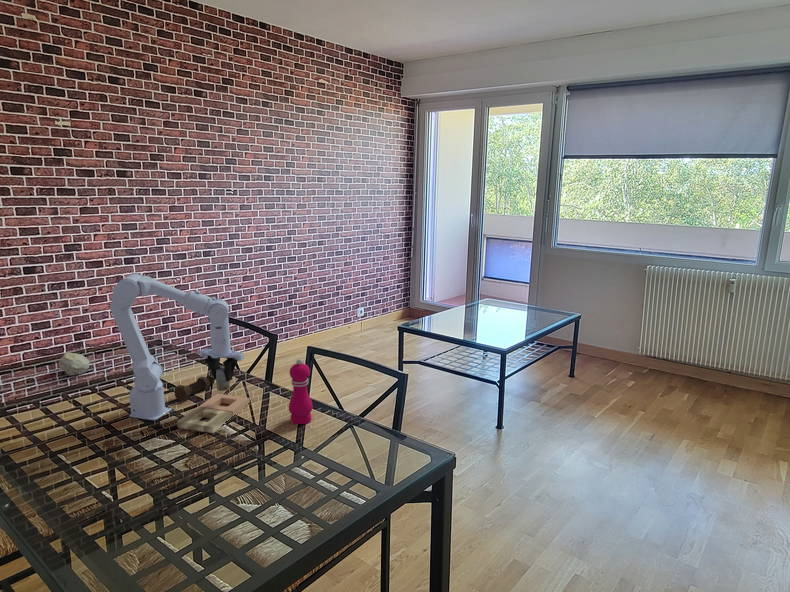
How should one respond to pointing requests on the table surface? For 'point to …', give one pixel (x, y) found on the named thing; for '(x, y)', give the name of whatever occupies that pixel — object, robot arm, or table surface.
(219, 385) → the pin
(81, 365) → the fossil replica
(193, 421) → the pin mount
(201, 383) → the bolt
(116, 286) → the robot arm
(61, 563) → the table surface
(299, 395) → the pepper mill
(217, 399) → the socket block
